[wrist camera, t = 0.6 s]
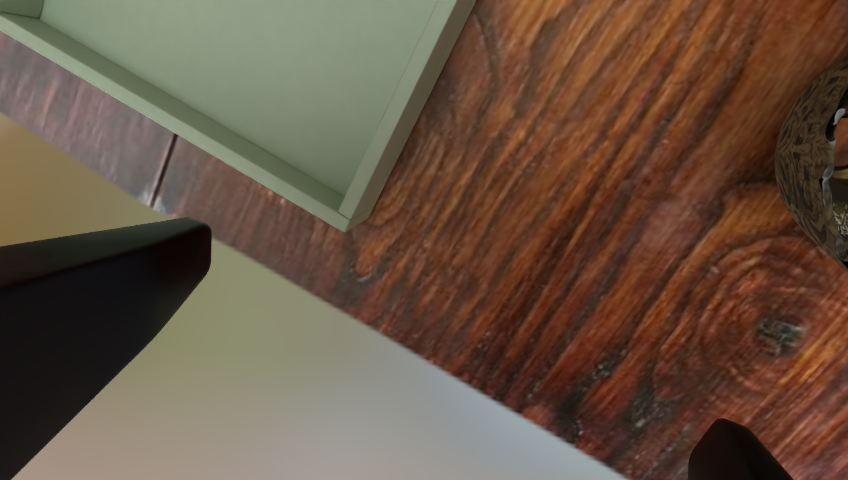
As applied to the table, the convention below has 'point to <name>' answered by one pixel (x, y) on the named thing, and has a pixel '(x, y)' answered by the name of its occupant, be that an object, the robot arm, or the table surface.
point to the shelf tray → (264, 80)
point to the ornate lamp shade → (816, 161)
